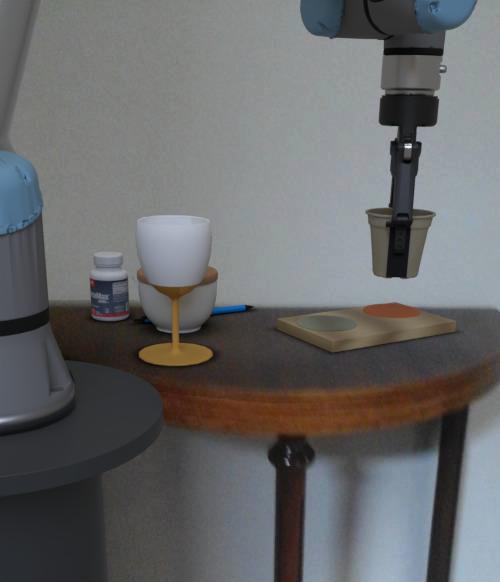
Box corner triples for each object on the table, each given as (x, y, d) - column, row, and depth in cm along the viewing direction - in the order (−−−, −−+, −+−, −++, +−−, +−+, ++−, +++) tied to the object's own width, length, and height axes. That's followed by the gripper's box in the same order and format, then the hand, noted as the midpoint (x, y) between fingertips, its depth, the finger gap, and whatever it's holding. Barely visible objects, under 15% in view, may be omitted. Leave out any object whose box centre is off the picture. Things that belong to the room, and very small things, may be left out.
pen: (131, 318, 115) (134, 315, 114) (252, 305, 123) (255, 301, 122) (133, 324, 115) (135, 321, 114) (253, 310, 123) (257, 307, 122)
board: (332, 352, 103) (332, 340, 103) (276, 329, 113) (276, 317, 112) (455, 331, 113) (456, 320, 113) (394, 311, 123) (395, 301, 123)
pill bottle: (83, 317, 117) (80, 253, 114) (112, 310, 121) (109, 249, 117) (108, 324, 114) (105, 258, 111) (137, 317, 118) (134, 254, 114)
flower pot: (374, 266, 121) (379, 205, 118) (437, 273, 117) (444, 210, 114) (351, 277, 114) (355, 212, 110) (417, 285, 110) (424, 218, 106)
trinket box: (126, 334, 109) (123, 262, 106) (156, 315, 119) (154, 248, 115) (203, 341, 107) (202, 268, 103) (227, 321, 116) (228, 253, 113)
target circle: (388, 320, 112) (388, 319, 112) (351, 308, 119) (351, 307, 119) (432, 313, 116) (432, 313, 116) (394, 302, 123) (394, 301, 123)
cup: (123, 359, 99) (117, 221, 93) (164, 341, 107) (161, 212, 100) (189, 370, 96) (187, 228, 89) (226, 351, 103) (227, 218, 97)
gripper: (447, 93, 96) (427, 287, 105) (433, 93, 116) (418, 257, 125) (381, 92, 97) (368, 285, 106) (379, 92, 117) (368, 255, 125)
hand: (395, 270), depth 115 cm, fingers closed on flower pot, 8 cm apart
